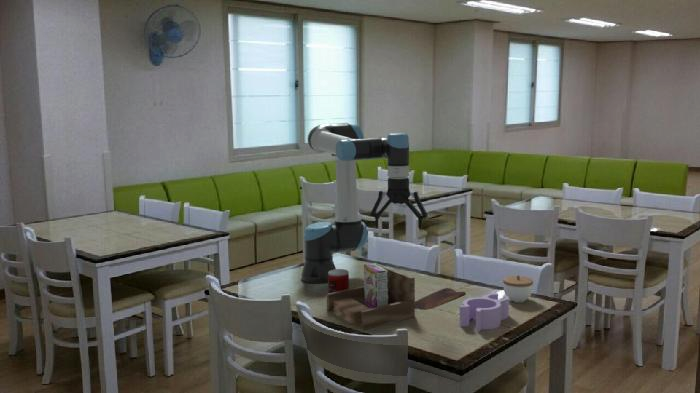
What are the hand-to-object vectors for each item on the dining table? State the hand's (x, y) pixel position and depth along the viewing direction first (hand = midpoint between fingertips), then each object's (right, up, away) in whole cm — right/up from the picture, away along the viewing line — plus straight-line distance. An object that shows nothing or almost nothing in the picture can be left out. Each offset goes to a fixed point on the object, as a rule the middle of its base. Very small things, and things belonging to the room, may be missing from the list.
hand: (398, 236), depth 228 cm
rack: (-10, -27, -1) cm, 29 cm away
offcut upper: (-17, -26, -6) cm, 31 cm away
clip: (+29, -28, -11) cm, 42 cm away
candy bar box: (-8, -27, 0) cm, 28 cm away
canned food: (-22, -25, +13) cm, 36 cm away
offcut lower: (-17, -28, -6) cm, 33 cm away
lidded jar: (+45, -24, +9) cm, 52 cm away
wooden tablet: (+15, -25, +12) cm, 32 cm away
